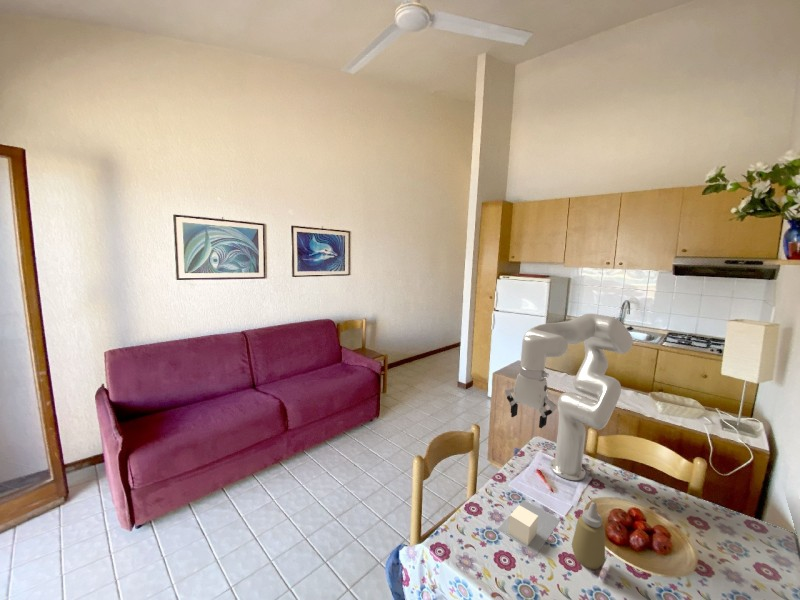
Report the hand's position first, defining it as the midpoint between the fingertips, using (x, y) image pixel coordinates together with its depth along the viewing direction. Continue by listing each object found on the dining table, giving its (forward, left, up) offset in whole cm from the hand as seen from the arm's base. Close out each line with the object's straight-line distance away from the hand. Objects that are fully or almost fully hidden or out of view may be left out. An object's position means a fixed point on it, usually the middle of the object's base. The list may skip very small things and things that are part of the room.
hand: (527, 421), depth 115 cm
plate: (+11, +8, -28) cm, 31 cm away
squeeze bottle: (+11, +24, -28) cm, 39 cm away
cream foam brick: (+16, +8, -27) cm, 32 cm away
